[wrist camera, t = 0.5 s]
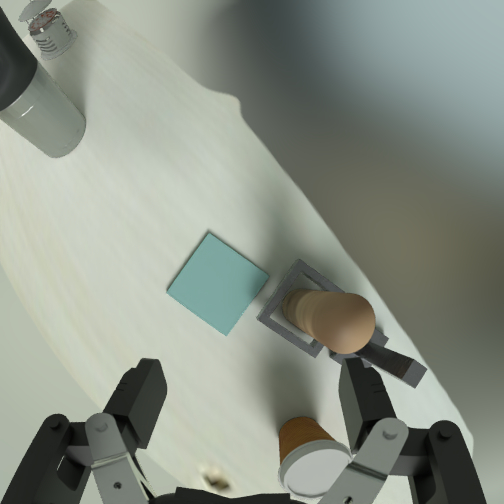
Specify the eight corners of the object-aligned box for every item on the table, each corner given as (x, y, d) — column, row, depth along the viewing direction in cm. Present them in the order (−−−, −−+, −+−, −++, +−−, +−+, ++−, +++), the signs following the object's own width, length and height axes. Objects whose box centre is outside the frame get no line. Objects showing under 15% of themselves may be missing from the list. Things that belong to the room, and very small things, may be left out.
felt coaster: (166, 292, 40) (166, 292, 39) (209, 233, 41) (209, 232, 40) (226, 335, 40) (226, 336, 39) (269, 276, 41) (269, 276, 40)
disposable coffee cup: (255, 429, 39) (263, 473, 27) (310, 395, 40) (336, 431, 28) (288, 466, 38) (303, 512, 26) (339, 435, 39) (368, 474, 27)
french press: (54, 63, 42) (3, -10, 18) (30, 56, 42) (-17, -6, 18) (84, 32, 44) (46, -45, 19) (58, 27, 44) (20, -38, 19)
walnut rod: (275, 311, 40) (306, 333, 23) (296, 281, 41) (342, 281, 23) (304, 331, 40) (353, 364, 23) (324, 301, 41) (385, 314, 23)
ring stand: (254, 315, 40) (267, 335, 25) (292, 261, 41) (326, 249, 26) (354, 381, 40) (406, 420, 25) (387, 331, 41) (451, 349, 26)
